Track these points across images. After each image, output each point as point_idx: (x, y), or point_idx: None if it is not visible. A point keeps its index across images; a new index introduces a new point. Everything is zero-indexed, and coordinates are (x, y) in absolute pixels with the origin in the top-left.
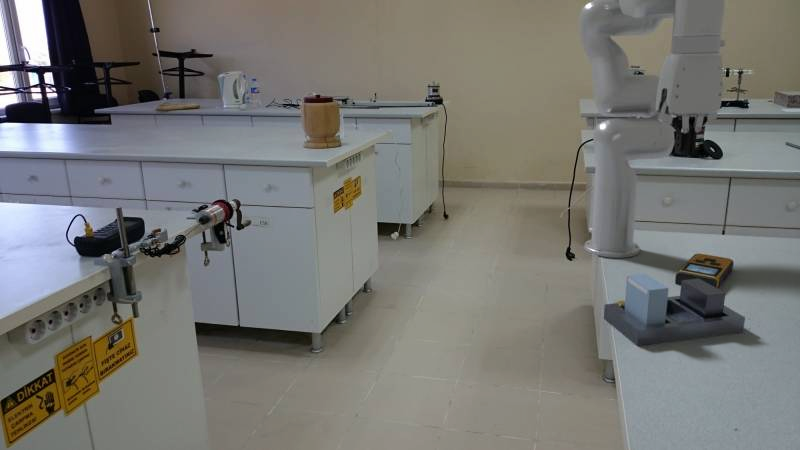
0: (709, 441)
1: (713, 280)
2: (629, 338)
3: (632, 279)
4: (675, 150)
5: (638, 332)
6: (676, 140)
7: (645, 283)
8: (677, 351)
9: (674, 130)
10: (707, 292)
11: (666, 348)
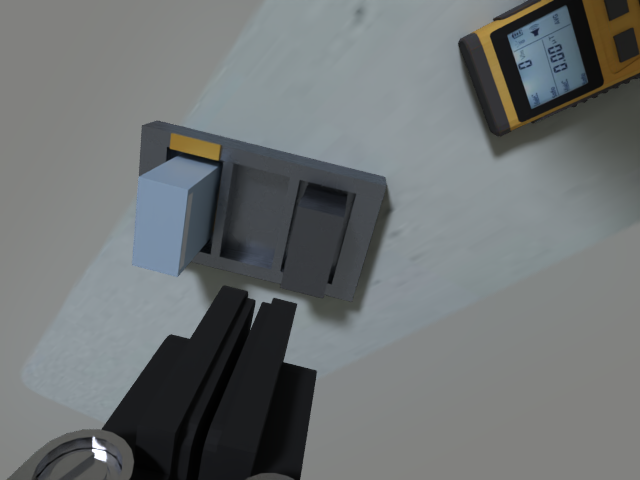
0: (91, 414)
1: (497, 132)
2: None
3: (137, 199)
4: (219, 294)
5: None
6: (137, 391)
7: (147, 235)
8: (198, 277)
9: (61, 449)
10: (291, 279)
11: (189, 263)
